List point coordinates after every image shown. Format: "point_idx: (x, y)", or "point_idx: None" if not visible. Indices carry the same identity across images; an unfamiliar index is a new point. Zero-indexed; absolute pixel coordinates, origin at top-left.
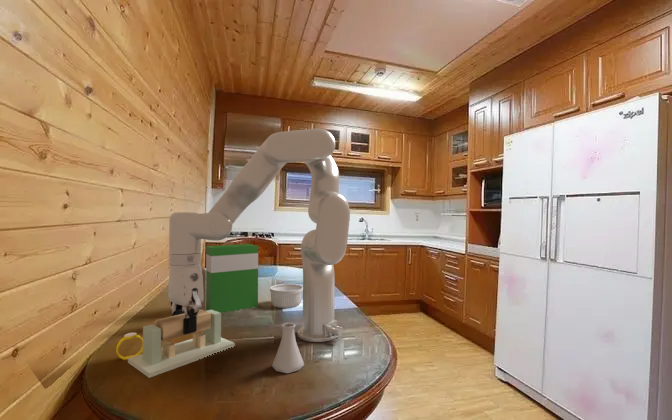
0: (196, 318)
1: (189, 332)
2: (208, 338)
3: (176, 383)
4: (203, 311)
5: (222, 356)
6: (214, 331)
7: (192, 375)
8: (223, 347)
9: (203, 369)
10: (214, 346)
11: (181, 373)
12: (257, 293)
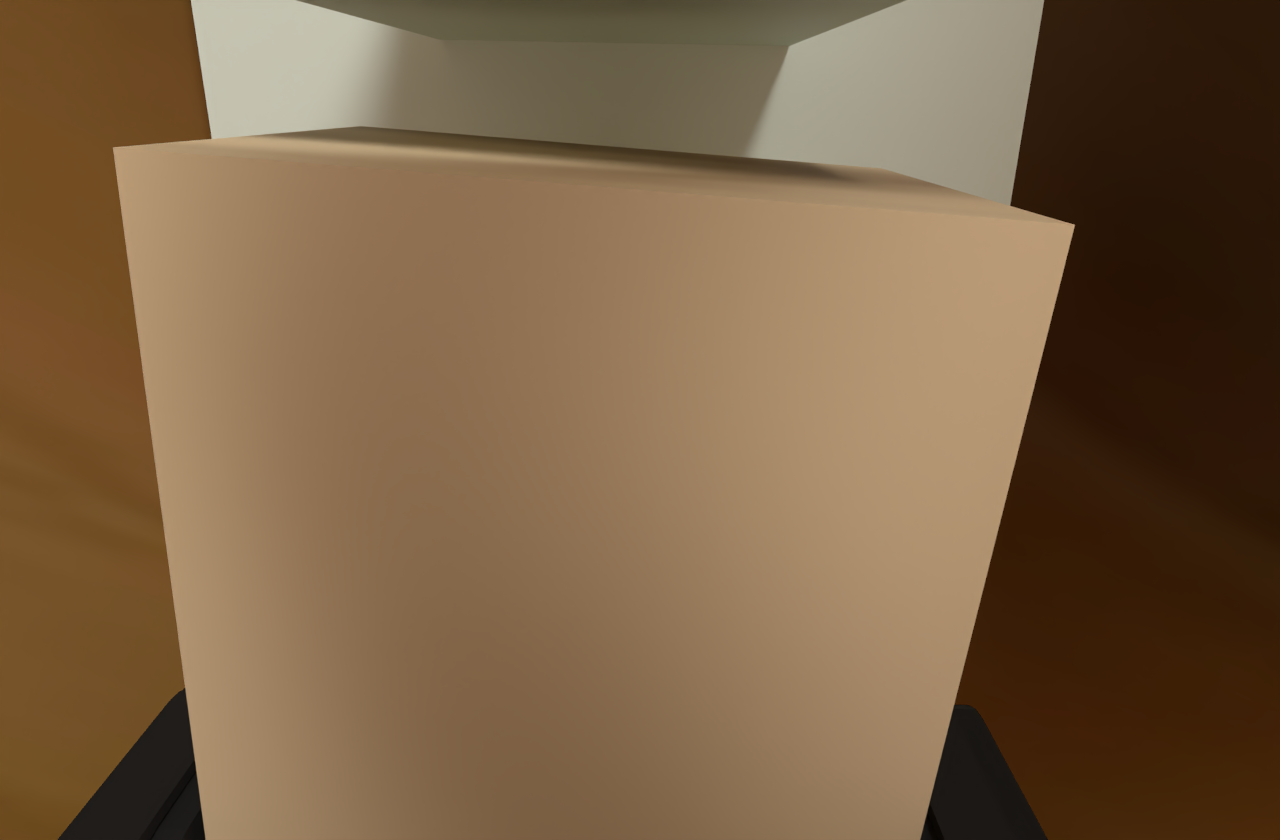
0: (993, 807)
1: None
2: (577, 37)
3: (1212, 830)
4: (505, 280)
5: (1167, 164)
6: (837, 25)
7: (1228, 679)
8: (1037, 10)
9: (1231, 542)
10: (877, 106)
11: (1074, 719)
12: None
